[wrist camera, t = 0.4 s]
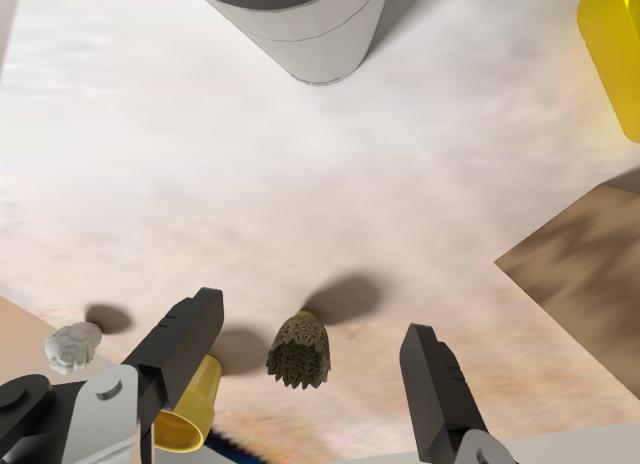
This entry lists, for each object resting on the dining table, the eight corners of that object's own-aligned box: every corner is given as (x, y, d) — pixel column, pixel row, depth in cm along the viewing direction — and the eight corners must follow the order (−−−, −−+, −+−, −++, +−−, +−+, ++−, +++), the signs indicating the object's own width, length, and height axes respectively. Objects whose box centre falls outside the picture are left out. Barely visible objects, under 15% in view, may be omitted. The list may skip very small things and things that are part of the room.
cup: (287, 290, 33) (271, 337, 26) (339, 304, 33) (338, 355, 26) (277, 329, 36) (260, 381, 29) (325, 342, 37) (320, 396, 29)
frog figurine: (117, 347, 41) (75, 388, 35) (75, 332, 41) (25, 371, 34) (119, 322, 39) (75, 361, 32) (74, 306, 38) (21, 343, 32)
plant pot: (223, 393, 44) (193, 462, 35) (168, 371, 43) (122, 437, 34) (242, 358, 40) (212, 427, 31) (180, 334, 39) (131, 397, 30)
